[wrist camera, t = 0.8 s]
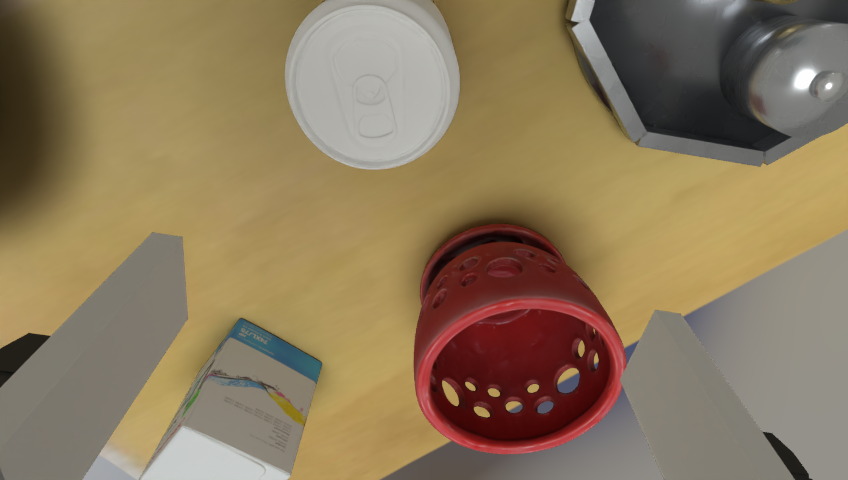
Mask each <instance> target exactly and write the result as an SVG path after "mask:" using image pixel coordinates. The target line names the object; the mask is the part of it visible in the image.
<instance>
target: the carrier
mask: <svg viewBox="0 0 848 480" xmlns="http://www.w3.org/2000/svg"><path fill="white" fill-rule="evenodd" d="M565 18H566V19H568V20H569V23H568V24H567V25H566V27H567V29H568V31H569V33H570V35H571V37H572V43H573V46H574V49H575V53H576V56H577V60H578V63H579V65H580V67H581V69H582V72H583V74H584V76H585V78H586V80H587V82H588V84H589V85H590V87H591V89H592V90H593V92H594V93H595V95H596V96H597V98H598V99H599V100H600V101H601V103H602V104H603V105H604V106H605V107H606V108H607V109H608V110H609V112H610V113H611V114H612V115H614V116H615V118H616V120H617V122H618V124H619V125H620V127H621V129H622V131H623V133H624V135H625V136H626V137H627V138H628V139H630V140H631V141H632V142H633V143H635V144H636V145H637V146H640V147H645V148H651V149H657V150H663V151H669V152H675V153H681V154H687V155H693V156H699V157H705V158H711V159H717V160H723V161H729V162H735V163H741V164H747V165H753V166H759V167H761V165H762V163H764V164H766V165H769V164H771V163H772V162H774V161H776V160H778V159H780V158H782V157H783V156H785V155H787V154H789V153H791V152H793V151H794V150H796V149H798V148H800V147H802V146H804V145H805V144H807V143H809V142H811V141H813V140H815V139H816V138H818V137H820V136H822V135H825V134H828V133H830V132H833V131H835V130H837V129H839V128H840V127H842V126H844V125H845V124H847V123H848V0H568V8H567V12H566V15H565Z"/></svg>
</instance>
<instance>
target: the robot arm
mask: <svg viewBox="0 0 848 480" xmlns="http://www.w3.org/2000/svg"><path fill="white" fill-rule="evenodd" d="M187 319H188V311H187V297H186V282H185V267H184V252H183V237H180V236H173V235H167V234H160V233H154V232H152V233H151V234H150V235H149V237H148V238H147V239H146V240H145V241H144V242H143V243H142V244H141V245H140V246H139V247H138V248H137V249H136V250H135V251H134V252H133V253H132V254H131V255H130V256H129V257H128V258H127V259H126V260H125V261H124V262H123V263H122V264H121V265H120V266H119V267H118V268H117V269H116V270H115V271H114V272H113V273H112V274H111V275H110V276H109V277H108V278H107V279H106V280H105V281H104V282H103V283H102V284H101V285H100V287H99V288H98V289H97V290H96V291H95V292H94V293H93V294H92V295H91V296H90V297H89V298H88V299H87V300H86V301H85V302H84V303H83V304H82V305H81V306H80V307H79V308H78V309H77V310H76V311H75V312H74V313H73V314H72V315H71V316H70V317H69V318H68V319H67V320H66V321H65V322H64V323H63V324H62V325H61V326H60V327H59V328H58V329H57V330H56V331H55V332H54V333H53V334H52V335H51V336H47V335H40V334H32V333H28V334H26V335H25V336H23V337H21V338H19V339H17V340H15V341H13V342H12V343H10V344H8V345H6V346H4V347H2V348H1V349H0V480H82V479H83V478H84V476H85V475H86V473H87V472H88V470H89V469H90V467H91V465H92V464H93V462H94V461H95V459H96V458H97V456H98V455H99V453H100V452H101V450H102V449H103V447H104V446H105V444H106V443H107V441H108V440H109V438H110V437H111V435H112V433H113V432H114V430H115V429H116V427H117V426H118V424H119V423H120V421H121V420H122V418H123V417H124V415H125V414H126V412H127V411H128V409H129V408H130V406H131V404H132V403H133V401H134V400H135V398H136V397H137V395H138V394H139V392H140V391H141V389H142V388H143V386H144V385H145V383H146V382H147V380H148V379H149V377H150V375H151V374H152V372H153V371H154V369H155V368H156V366H157V365H158V363H159V362H160V360H161V359H162V357H163V356H164V354H165V353H166V351H167V350H168V348H169V347H170V345H171V343H172V342H173V340H174V339H175V337H176V336H177V334H178V333H179V331H180V330H181V328H182V327H183V325H184V324H185V322H186V321H187ZM620 381H621V384H622V386H623V388H624V390H625V392H626V395H627V397H628V399H629V402H630V404H631V406H632V408H633V411H634V413H635V415H636V417H637V420H638V422H639V424H640V426H641V429H642V431H643V433H644V436H645V438H646V440H647V442H648V445H649V447H650V449H651V451H652V454H653V456H654V458H655V461H656V463H657V465H658V467H659V470H660V472H661V474H662V476H663V479H664V480H812V479H809V474H808V473H807V471H806V470H805V468H804V467H803V466H802V464H801V463H800V462H799V460H798V459H797V457H796V456H795V455H794V453H793V452H792V451H791V450H790V449H788V448H787V447H786V446H785V445H784V444H783V443H782V442H781V441H780V440H779V439H778V438H776V437H775V436H774V435H773V434H772V433H767V432H762V431H761V430H760V428H759V427H758V425H757V424H756V422H755V421H754V420H753V418H752V417H751V415H750V414H749V412H748V411H747V409H746V408H745V406H744V405H743V404H742V402H741V401H740V399H739V398H738V396H737V395H736V393H735V392H734V390H733V389H732V388H731V386H730V385H729V383H728V382H727V381H726V379H725V377H724V376H723V374H722V373H721V372H720V370H719V369H718V367H717V366H716V364H715V363H714V361H713V360H712V359H711V357H710V356H709V354H708V353H707V351H706V350H705V348H704V347H703V346H702V344H701V343H700V341H699V340H698V338H697V337H696V335H695V334H694V332H693V331H692V330H691V328H690V327H689V325H688V324H687V322H686V321H685V319H684V318H683V316H682V315H681V314H679V313H673V312H666V311H660V310H655V311H654V313H653V315H652V317H651V319H650V321H649V323H648V325H647V327H646V329H645V331H644V333H643V335H642V337H641V339H640V341H639V343H638V345H637V347H636V349H635V351H634V353H633V355H632V357H631V359H630V361H629V363H628V364H627V366H626V368H625V370H624V372H623V374H622V376H621V378H620Z"/></svg>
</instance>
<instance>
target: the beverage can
mask: <svg viewBox="0 0 848 480" xmlns="http://www.w3.org/2000/svg"><path fill="white" fill-rule="evenodd" d="M285 85H286V92H287V97H288V101H289V104H290V107H291V110H292V112H293V114H294V116H295V118H296V120H297V122H298V124H299V125H300V127H301V128H302V130H303V132H304V133H305V134H306V136H307V137H308V138H309V139H310V141H311V142H312V143H313V144H314V145H315V146H316V147H317V148H319V149H320V150H321V151H322V152H324V153H325V154H326V155H328V156H329V157H331V158H333V159H334V160H336V161H338V162H341V163H343V164H345V165H348V166H352V167H355V168H360V169H369V170H378V169H387V168H393V167H398V166H401V165H404V164H407V163H409V162H412V161H414V160H416V159H417V158H419V157H421V156H422V155H424V154H425V153H426V152H428V151H429V150H430V149H431V148H432V147H434V146H435V145H436V144H437V142H438V141H439V140H440V139H441V138H442V136H443V135H444V134H445V132H446V131H447V129H448V127H449V126H450V124H451V122H452V119H453V117H454V115H455V112H456V109H457V105H458V100H459V94H460V73H459V66H458V62H457V58H456V54H455V50H454V47H453V43H452V40H451V36H450V33H449V29H448V27H447V24H446V22H445V19H444V17H443V16H442V14H441V12H440V11H439V9H438V8H437V7H436V5H435V4H434V3H433V2H432V1H431V0H326V1H325V2H323V3H321V4H320V5H319V6H317V7H316V8H315V9H314V10H313V11H312V12H311V13H310V14H309V15H308V16H307V17H306V18H305V19H304V20H303V22H302V23H301V24H300V26H299V27H298V29H297V31H296V33H295V34H294V36H293V39H292V41H291V44H290V46H289V50H288V53H287V58H286V65H285Z"/></svg>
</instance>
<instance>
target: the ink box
mask: <svg viewBox="0 0 848 480" xmlns="http://www.w3.org/2000/svg"><path fill="white" fill-rule="evenodd" d="M321 366H322V363H321V362H320V361H318V360H316V359H314V358H313V357H311V356H309V355H307V354H305V353H304V352H302V351H300V350H299V349H297V348H295V347H293V346H292V345H290V344H288V343H286V342H285V341H283V340H281V339H279V338H277V337H276V336H274V335H272V334H270V333H268V332H266V331H265V330H263V329H261V328H259V327H257V326H255V325H253V324H251V323H249V322H247V321H246V320H244V319H239V321H238V322H237V323H236V325H235V326H234V327H233V329H232V330H231V331H230V332H229V334H228V335H227V336H226V338H225V339H224V340H223V342H222V343H221V344H220V345H219V347H218V348H217V349H216V351H215V352H214V353H213V355H212V356H211V357H210V358H209V360H208V361H207V362H206V364H205V365H204V366H203V367H202V369H201V370H200V371H199V373H198V374H197V376H196V378H195V380H194V382H193V383H192V385H191V387H190V389H189V391H188V393H187V394H186V396H185V398H184V400H183V402H182V403H181V405H180V407H179V409H178V411H177V413H176V414H175V416H174V418H173V420H172V421H171V423H170V425H169V427H168V429H167V430H166V432H165V434H164V436H163V438H162V439H161V441H160V443H159V445H158V447H157V448H156V450H155V452H154V454H153V455H152V457H151V459H150V461H149V462H148V464H147V466H146V468H145V470H144V471H143V473H142V475H141V477H140V478H139V480H288V479H289V478H290V476H291V473H292V469H293V465H294V462H295V458H296V455H297V451H298V448H299V444H300V441H301V437H302V433H303V430H304V426H305V423H306V419H307V416H308V412H309V408H310V405H311V401H312V398H313V394H314V391H315V387H316V384H317V380H318V377H319V373H320V370H321Z"/></svg>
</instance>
